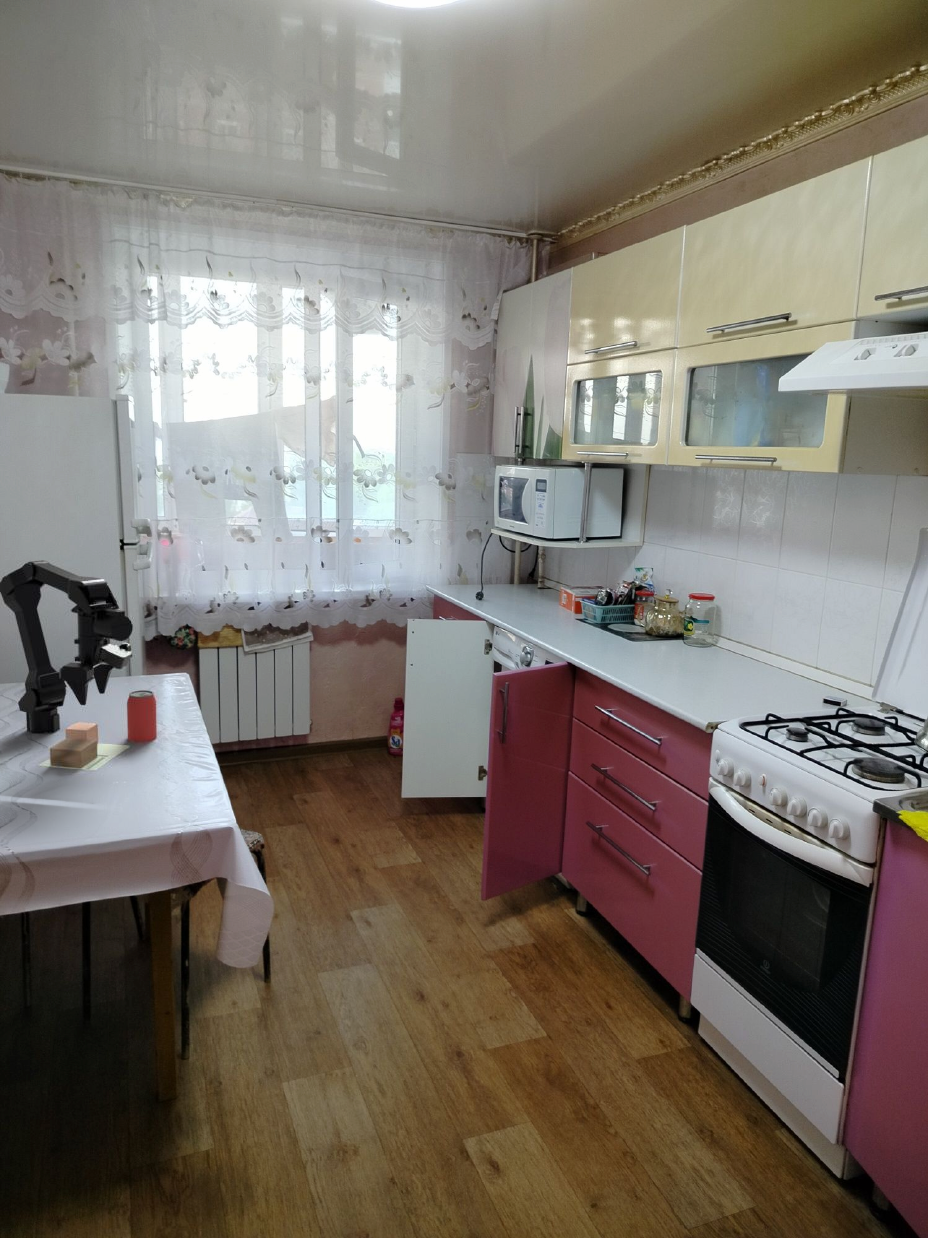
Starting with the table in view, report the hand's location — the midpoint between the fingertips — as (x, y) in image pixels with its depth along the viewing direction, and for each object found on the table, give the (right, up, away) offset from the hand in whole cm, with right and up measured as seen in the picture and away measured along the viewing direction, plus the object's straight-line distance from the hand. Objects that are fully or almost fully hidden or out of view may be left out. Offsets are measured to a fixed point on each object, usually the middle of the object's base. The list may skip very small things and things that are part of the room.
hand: (92, 699), depth 197 cm
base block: (0, -13, -8) cm, 16 cm away
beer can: (+8, -11, +9) cm, 17 cm away
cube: (-3, -11, +1) cm, 11 cm away
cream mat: (0, -13, -4) cm, 14 cm away
